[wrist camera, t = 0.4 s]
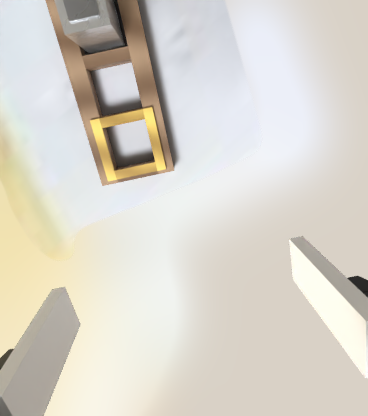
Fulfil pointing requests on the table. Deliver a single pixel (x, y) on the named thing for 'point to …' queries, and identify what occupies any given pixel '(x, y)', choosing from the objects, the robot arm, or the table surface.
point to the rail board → (97, 123)
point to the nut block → (91, 23)
